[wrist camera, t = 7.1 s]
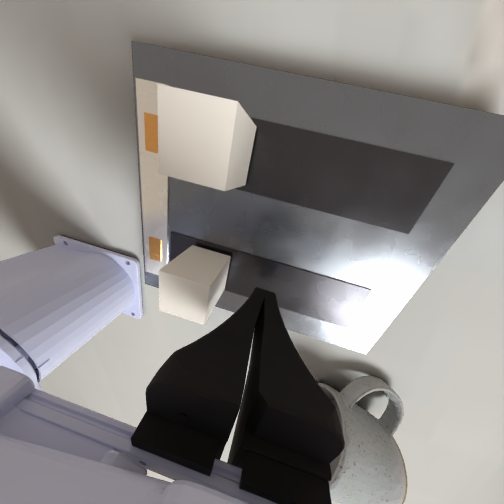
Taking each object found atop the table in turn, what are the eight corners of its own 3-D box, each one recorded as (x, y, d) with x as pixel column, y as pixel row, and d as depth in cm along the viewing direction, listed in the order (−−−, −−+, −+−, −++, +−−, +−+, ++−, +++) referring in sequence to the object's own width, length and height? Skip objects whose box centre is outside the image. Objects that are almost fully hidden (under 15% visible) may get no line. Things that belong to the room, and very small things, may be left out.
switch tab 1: (198, 173, 11) (158, 173, 8) (203, 114, 10) (157, 83, 6) (245, 185, 11) (224, 191, 7) (256, 126, 10) (237, 101, 6)
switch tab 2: (189, 277, 15) (159, 310, 11) (192, 245, 13) (158, 270, 10) (224, 288, 14) (204, 325, 11) (230, 256, 13) (209, 286, 10)
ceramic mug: (340, 428, 23) (363, 538, 16) (287, 397, 22) (288, 497, 15) (415, 395, 18) (491, 527, 12) (352, 354, 18) (392, 468, 11)
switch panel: (159, 272, 18) (143, 284, 16) (156, 61, 11) (128, 38, 9) (357, 334, 17) (366, 356, 15) (499, 133, 10) (552, 123, 8)
